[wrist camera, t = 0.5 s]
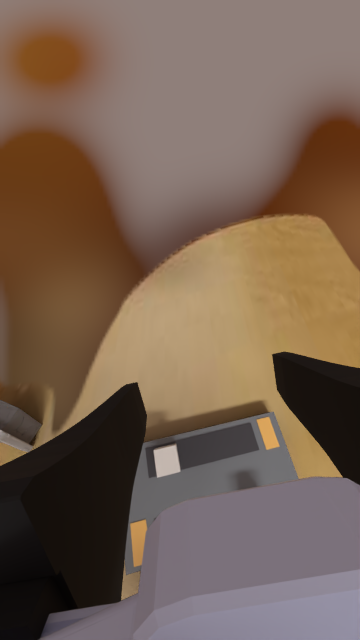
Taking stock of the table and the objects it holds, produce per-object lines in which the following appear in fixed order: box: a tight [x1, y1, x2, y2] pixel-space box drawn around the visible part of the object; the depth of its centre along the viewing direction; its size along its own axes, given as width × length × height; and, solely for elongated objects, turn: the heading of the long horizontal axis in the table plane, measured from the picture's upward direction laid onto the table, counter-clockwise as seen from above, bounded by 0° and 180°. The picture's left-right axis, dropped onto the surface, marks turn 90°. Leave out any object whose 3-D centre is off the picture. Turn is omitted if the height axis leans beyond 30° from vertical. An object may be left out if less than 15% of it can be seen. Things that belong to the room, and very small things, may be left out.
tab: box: [153, 444, 181, 478], centre depth 29 cm, size 3×3×3 cm
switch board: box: [125, 412, 298, 575], centre depth 30 cm, size 13×24×2 cm, turn 102°
